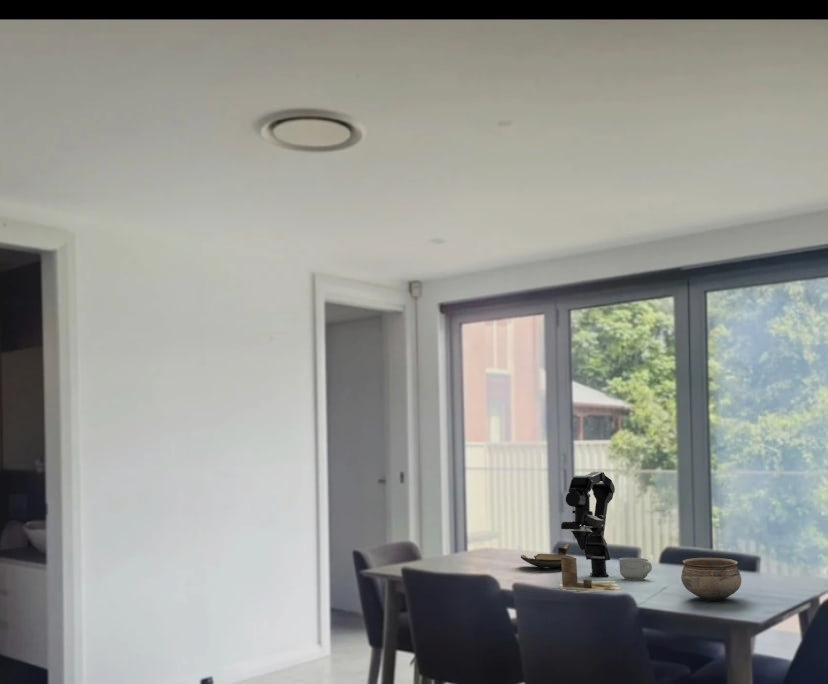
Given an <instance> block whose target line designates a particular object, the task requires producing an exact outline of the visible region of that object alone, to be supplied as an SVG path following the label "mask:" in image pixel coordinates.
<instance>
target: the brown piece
mask: <svg viewBox="0 0 828 684" xmlns="http://www.w3.org/2000/svg"><path fill="white" fill-rule="evenodd" d="M560 568H561V582H562V584H563V586H575V587H584V588H591V587H604V588H611V585H608V584H592V582H593V581H592V579H583V580H582V581H578V567H577V558H576V557H574V558H565V557H562V558H561V567H560ZM581 582H583V583H581Z"/></svg>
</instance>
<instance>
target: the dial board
mask: <svg viewBox="0 0 828 684" xmlns="http://www.w3.org/2000/svg"><path fill="white" fill-rule="evenodd" d="M580 582H581V583H583V581H580ZM592 584H608V585H611V588H604V587H591V588H584V587H575V586H563V584H562V581H558V585H559V587H560V588H559V589H560V590H561V589H566V590H576V591H589V592H588V593H618V592H619V593H623V592H624V591H623V590H622V588H621V587H620V586H619V584H618V583H617V581H616V580H610V581H608V580H607V581H606V580H604V581H592Z"/></svg>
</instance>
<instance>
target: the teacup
mask: <svg viewBox="0 0 828 684" xmlns="http://www.w3.org/2000/svg"><path fill="white" fill-rule="evenodd" d="M618 561H619V563H618V564H619V573H620V575H621V576H622V577H623V578H624V580H626V581H643V580H645V579H646V578H647V577H648V575H649V573H651V571H652V569H653V566H652V563H651V561H649V559H648V558H644V557H643V558H641V557H620V558H618Z"/></svg>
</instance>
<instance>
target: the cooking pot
mask: <svg viewBox="0 0 828 684" xmlns="http://www.w3.org/2000/svg"><path fill="white" fill-rule="evenodd" d="M682 563H683V564H684V565H683V567H682V570H681V574H680V575H681V577H680V579H681V582H682V585H683V586H684V588H685V589H686V590H687V591H688V592H689V593H692V594H693V595H695V596H697V597H698V598H699V599H701V600H703V601H706V602H720V601H721V602H722V601H724V600H726V599H727V598H728V597H730V596H732V595H734V594H735V593H736V592H737V591H738V590H739V589H740V587H741V585H742V575H741V573H740V570H739V568H738V566H737V564H738V563H739V562H738V561H737V560H734V559H728V558H721V557H719V558H718V557H695V558H694V557H693V558H687V559H683V560H682Z"/></svg>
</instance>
